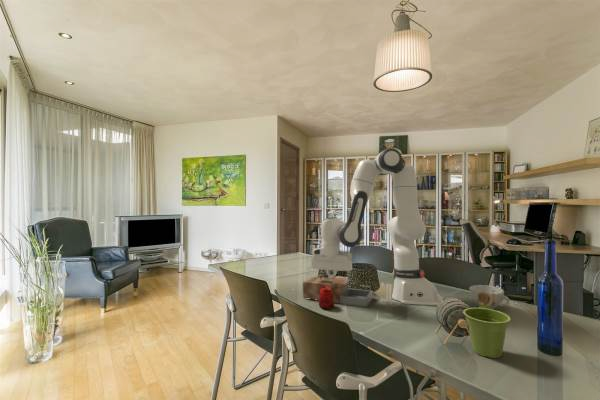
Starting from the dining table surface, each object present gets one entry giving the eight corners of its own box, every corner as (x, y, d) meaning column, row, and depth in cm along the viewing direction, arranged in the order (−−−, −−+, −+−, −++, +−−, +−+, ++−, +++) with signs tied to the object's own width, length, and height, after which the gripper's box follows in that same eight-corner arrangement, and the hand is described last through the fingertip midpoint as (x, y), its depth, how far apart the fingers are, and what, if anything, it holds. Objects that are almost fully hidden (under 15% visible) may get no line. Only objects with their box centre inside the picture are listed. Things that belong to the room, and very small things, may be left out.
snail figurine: (491, 324, 107) (489, 291, 108) (473, 319, 113) (472, 287, 113) (499, 322, 110) (498, 289, 110) (482, 316, 116) (481, 285, 116)
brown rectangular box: (348, 296, 146) (347, 279, 146) (340, 303, 135) (340, 285, 135) (312, 292, 154) (312, 276, 155) (303, 298, 144) (302, 282, 144)
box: (373, 298, 142) (372, 290, 142) (366, 307, 129) (366, 299, 129) (348, 295, 147) (348, 288, 147) (340, 304, 134) (339, 296, 134)
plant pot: (457, 351, 89) (455, 313, 89) (475, 340, 96) (474, 305, 96) (501, 367, 79) (499, 325, 80) (518, 354, 86) (517, 315, 86)
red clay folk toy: (333, 310, 126) (332, 275, 126) (317, 309, 128) (316, 275, 128) (335, 304, 134) (334, 271, 134) (319, 304, 135) (319, 271, 135)
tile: (348, 281, 143) (348, 277, 143) (344, 284, 138) (344, 280, 138) (336, 280, 146) (336, 276, 146) (332, 283, 140) (332, 279, 140)
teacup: (463, 305, 129) (462, 287, 129) (481, 301, 134) (480, 283, 134) (499, 316, 115) (498, 296, 115) (517, 311, 121) (517, 291, 121)
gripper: (353, 250, 142) (354, 279, 142) (314, 248, 151) (315, 276, 151) (349, 252, 137) (350, 282, 136) (309, 250, 146) (310, 278, 145)
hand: (331, 279), depth 144 cm, fingers closed
